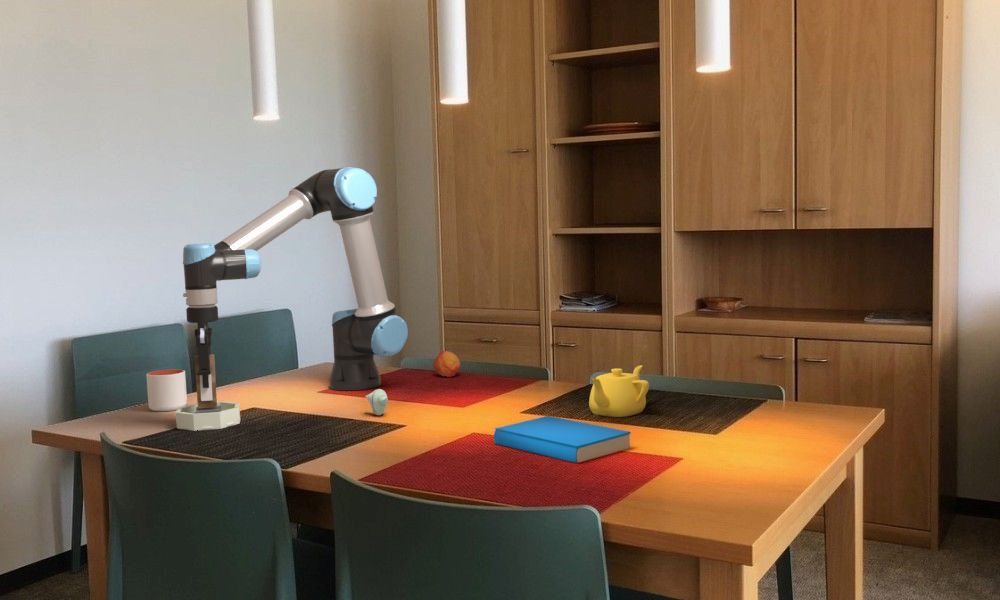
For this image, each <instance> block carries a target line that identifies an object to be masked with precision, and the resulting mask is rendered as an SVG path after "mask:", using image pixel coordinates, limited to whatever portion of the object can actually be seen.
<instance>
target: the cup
mask: <svg viewBox="0 0 1000 600" xmlns="http://www.w3.org/2000/svg"><path fill="white" fill-rule="evenodd" d="M186 379H187V378H186V370H183V369H178V368H177V369H160V370H154V371H150V372H148V373H146V390H147V402H148V403H147V405H148V407H149V409H150V410H151V411H153V412H172V411H177V409H178V408H179V407H183V406H187V403H188V398H187V396H188V395H187V394H188V393H187V381H186Z"/></svg>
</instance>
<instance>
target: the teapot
mask: <svg viewBox="0 0 1000 600" xmlns="http://www.w3.org/2000/svg"><path fill="white" fill-rule="evenodd" d="M642 368H643V365H637V366H636V367H635V368H634V369H633V371H632V373H630V372H628V373H627V372H623V371H624V370H623V368H611V372H608V373H604V374H600V375H597V376H596V377H595V378H594V377H593V378H592V377H591V378H590V379H591V380H592V382H593V384H592V388H591V390H590V394H589V399H588V400H589V401H588V404H589V405H588V406H589V409H590V412H591V413H592V414H593V415H595V416H603V417H611V418H626V417H630V416H634V415H638V414H640V413H642V412H643V411H644V409H645V408H646V404H647V399H646V398H647V397H646V396H647V393H648V391H649V390H650V389H649V388H650V383H649V381H647V380H645V379H641V378H640V377H641V374H640V372H641V370H642Z"/></svg>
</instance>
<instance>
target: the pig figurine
mask: <svg viewBox="0 0 1000 600" xmlns="http://www.w3.org/2000/svg"><path fill="white" fill-rule="evenodd" d="M365 398H366V399H367V400H368V402H369V404H370V408H371V410H372V412H373V413H374V414H375V415H376V416H381V415H383V413H384V412H385V410H386V408H387V405H388V402H389V400H388V395H387V393H386V391H385V390H384V389H381V388H378V389H375V390H373V391H372V392H371V393H369V394H367V395H365Z"/></svg>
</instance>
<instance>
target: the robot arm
mask: <svg viewBox="0 0 1000 600" xmlns="http://www.w3.org/2000/svg"><path fill="white" fill-rule="evenodd" d="M377 196H378V188H377V184H376V181H375V180H374V178H373V176H372V175H371V174H370V173H369V172H367V171H366V170H364V169H362V168H359V167H350V166H347V167H340V168H332V169H331V168H330V169H324V170H321V171H319V172H316V173H315V174H313V175H310V177H308V178H307V179H305V180H304V181H302V182H301V183H299V184H297V185H296V186H295V187H294V188H292V189H290V190H289V192H288V196H286V197H285V198H284V199H282V200H280V201H279V202H278V203H276V204H274V205H273V206H271V207H270V208H269V209H266V210H265V211H264V212H263V213H261V214H260V215H258V216H256V217H255V218H253V219H252V220H251V221H249V222H248V223H247V222H246V224H245V225H243V226H242V227H240V228H239V229H237V230H235V231H234V232H233V233H231V234H229V235H227V236H226V237H225V238H223V239H222V240H221V241H218V242H217V243H215V244H213V243H191V244H190V243H188V244H186V245H185V246H184V247H183V249H182V251H183V253H182V265H183V273H184V274H183V275H184V285H185V287H184V289H185V293H182V297H183V298H185V305H187V306H188V307H186V309H185V311H186V321H187V322H188V323H189V324H190V323H191V324H195V323H196V324H197V328H194V329H195V330H194V337H195V343H196V344H195V345H196V348H197V355H198V359H199V373H197V375H200V390H201V401H210V400H213V398H212V381H211V374H210V373H211V371H210V357H209V355H212V353H211V352H212V351H211V346H212V342H213V341H212V336H213V335H212V334H213V328H211V327H210V325H209V323H214V322H218V320H219V308H218V306H217V304H218V303H219V302H218V287H217V285H218V284H217V282H218V281H220V282H221V281H231V280H232V281H233V280H248V279H255V278H256V277H258V276H259V274H260V273H261V269H262V260H261V257H260V254H259V253H258V251H259V250H261V249H262V248H263V247H265V246H266V245H268V244H269V243H271V242H272V241H273V240H275V239H277V237H279V236H280V235H283V234H284V233H285V232H287V231H288V230H289V229H291V228H293V227H294V226H295V225H297V224H299V223H300V222H301V221H303V220H304V219H305V220H311V219H312V218H314V217H316V216H317V215H319V214H322V213H326V212H330V215H331V219H332V222H334V223H335V224H337V225H338V226H339V228H340V233H341V236H342V237H341V238H342V241H343V246H344V251H345V255H346V259H347V263H348V264H347V265H348V268H349V273H350V276H351V281H352V285H353V290H354V293H355V299H356V302H357V308H354V309H353V308H352V309H345V310H338V311H335V312H334V313H333V314H332V319H331V326H332V340H333V341H332V342H333V357H334V358H333V361H334V362H333V366H332V368H331V369H332V370H331V373H330V377H329V382H328V383H329V389H332V390H334V391H335V390H336V391H361V390H367V389H369V390H370V389H373V388H378V387H380V386H381V385H382V381H381V380H382V379H381V374H380V373H379V370H378V367H377V363H376V362H375V358H374V356H378V357H391V356H394V355H397V354H398V353H399V352H401V351H402V350H403V349H404V347H405V344H406V343H407V339H408V338H409V337H408V336H409V329H408V327H409V326H408V325H407V323H406V321H405V320H404V319H403V318H402V317H401V316H398V315H397V314H398V313H397V311H396V310H397V309H396V307H395V303H393V302H391V301H390V300H389V298H388V295H387V293H388V292H387V289H386V285H385V281H384V276H383V272H382V267H381V262H380V259H379V255H378V249H377V245H376V240H375V236H374V232H373V226H372V222H371V217H372V216H373V214H374V206H373V205H374V204H375V202H376V198H377ZM209 327H210V328H209Z"/></svg>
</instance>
